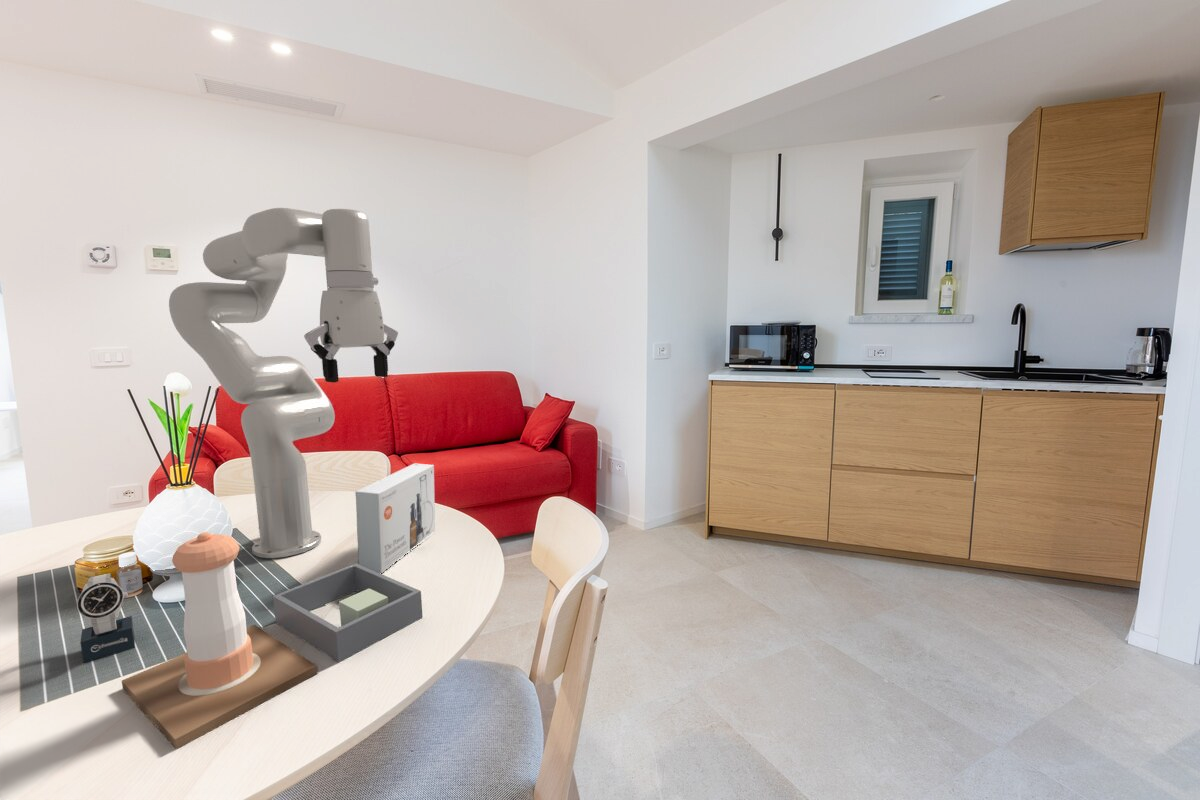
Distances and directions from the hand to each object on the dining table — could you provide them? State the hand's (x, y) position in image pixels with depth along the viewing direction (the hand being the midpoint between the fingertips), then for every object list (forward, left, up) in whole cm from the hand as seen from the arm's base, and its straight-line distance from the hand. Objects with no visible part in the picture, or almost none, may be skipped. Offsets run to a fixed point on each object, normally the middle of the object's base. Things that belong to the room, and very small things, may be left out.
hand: (357, 379), depth 101 cm
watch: (-8, -37, -36) cm, 53 cm away
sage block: (+18, -13, -36) cm, 43 cm away
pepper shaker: (+14, -31, -35) cm, 49 cm away
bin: (+14, -13, -36) cm, 41 cm away
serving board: (+14, -31, -36) cm, 50 cm away
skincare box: (-2, +8, -37) cm, 38 cm away
